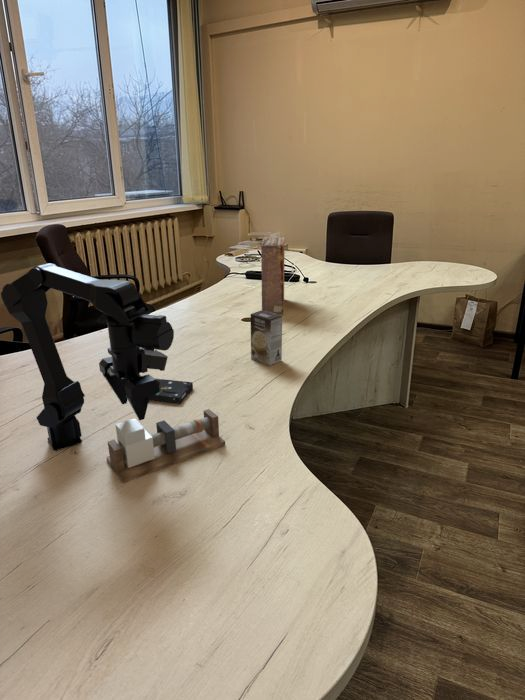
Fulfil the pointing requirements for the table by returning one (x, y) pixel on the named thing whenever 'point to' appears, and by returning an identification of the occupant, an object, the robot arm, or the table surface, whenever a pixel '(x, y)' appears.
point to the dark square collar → (167, 436)
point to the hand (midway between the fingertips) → (132, 411)
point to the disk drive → (172, 391)
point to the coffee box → (266, 337)
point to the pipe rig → (188, 444)
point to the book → (273, 274)
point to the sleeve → (135, 442)
